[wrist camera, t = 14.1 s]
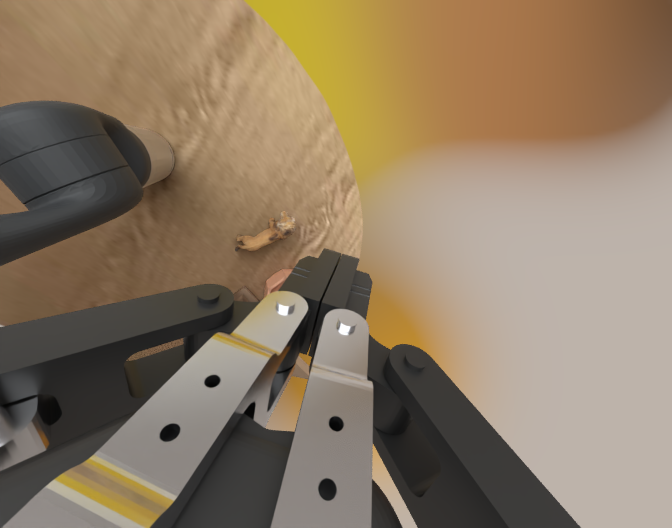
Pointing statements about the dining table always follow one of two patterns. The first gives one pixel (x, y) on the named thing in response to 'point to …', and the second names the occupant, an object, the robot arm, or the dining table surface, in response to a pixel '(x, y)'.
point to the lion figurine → (269, 233)
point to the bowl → (276, 281)
